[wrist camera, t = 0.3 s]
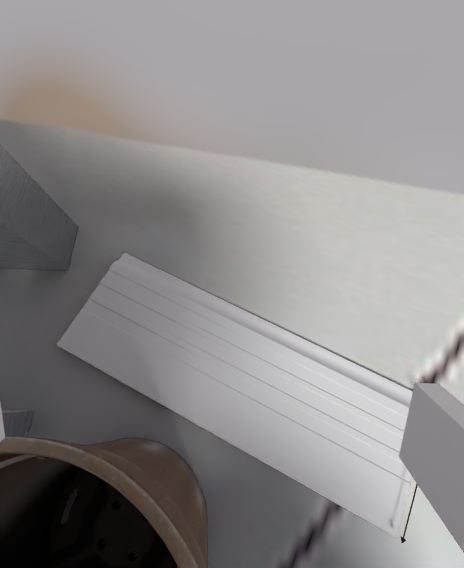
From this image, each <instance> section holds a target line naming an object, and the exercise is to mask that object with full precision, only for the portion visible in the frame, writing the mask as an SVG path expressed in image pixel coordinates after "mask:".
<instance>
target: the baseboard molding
mask: <svg viewBox="0 0 464 568" xmlns="http://www.w3.org/2000/svg"><path fill="white" fill-rule="evenodd" d="M57 346H59V347H61V348H62V349H64V350H66V351H68V352H69V353H71V354H73V355H75V356H76V357H78V358H80V359H82V360H83V361H85V362H87V363H89V364H91V365H92V366H94V367H96V368H98V369H99V370H101V371H103V372H105V373H106V374H108V375H110V376H112V377H114V378H115V379H117V380H119V381H121V382H122V383H124V384H126V385H128V386H129V387H131V388H133V389H135V390H136V391H138V392H140V393H142V394H144V395H145V396H147V397H149V398H151V399H152V400H154V401H156V402H158V403H159V404H161V405H163V406H165V407H166V408H168V409H170V410H172V411H174V412H175V413H177V414H179V415H181V416H182V417H184V418H186V419H188V420H189V421H191V422H193V423H195V424H197V425H198V426H200V427H202V428H204V429H205V430H207V431H209V432H211V433H212V434H214V435H216V436H218V437H219V438H221V439H223V440H225V441H227V442H228V443H230V444H232V445H234V446H235V447H237V448H239V449H241V450H242V451H244V452H246V453H248V454H250V455H251V456H253V457H255V458H257V459H258V460H260V461H262V462H264V463H265V464H267V465H269V466H271V467H272V468H274V469H276V470H278V471H280V472H281V473H283V474H285V475H287V476H288V477H290V478H292V479H294V480H295V481H297V482H299V483H301V484H303V485H304V486H306V487H308V488H310V489H311V490H313V491H315V492H317V493H318V494H320V495H322V496H324V497H325V498H327V499H329V500H331V501H333V502H334V503H336V504H338V505H340V506H341V507H343V508H345V509H347V510H348V511H350V512H352V513H354V514H355V515H357V516H359V517H361V518H363V519H364V520H366V521H368V522H370V523H371V524H373V525H375V526H377V527H378V528H380V529H382V530H384V531H386V532H387V533H389V534H391V535H393V536H394V537H396V538H397V534H398V531H399V527H400V523H401V519H402V515H403V512H404V508H405V504H406V500H407V496H408V493H409V489H410V485H411V483H410V482H411V478H412V475H411V474H410V472H409V471H408V470H407V468H406V467H405V465H404V464H403V462H402V461H401V459H400V458H399V454H400V449H401V444H402V440H403V435H404V430H405V426H406V421H407V416H408V412H409V407H410V402H411V398H412V393H413V391H411V390H409V389H407V388H404V387H402V386H400V385H398V384H396V383H394V382H392V381H390V380H388V379H386V378H384V377H382V376H380V375H378V374H375V373H373V372H371V371H369V370H367V369H365V368H363V367H361V366H359V365H357V364H355V363H353V362H351V361H348V360H346V359H344V358H342V357H340V356H338V355H336V354H334V353H332V352H330V351H328V350H326V349H324V348H322V347H319V346H317V345H315V344H313V343H311V342H309V341H307V340H305V339H303V338H301V337H299V336H297V335H295V334H292V333H290V332H288V331H286V330H284V329H282V328H280V327H278V326H276V325H274V324H272V323H270V322H268V321H266V320H263V319H261V318H259V317H257V316H255V315H253V314H251V313H249V312H247V311H245V310H243V309H241V308H239V307H236V306H234V305H232V304H230V303H228V302H226V301H224V300H222V299H220V298H218V297H216V296H214V295H212V294H210V293H207V292H205V291H203V290H201V289H199V288H197V287H195V286H193V285H191V284H189V283H187V282H185V281H183V280H180V279H178V278H176V277H174V276H172V275H170V274H168V273H166V272H164V271H162V270H160V269H158V268H156V267H154V266H151V265H149V264H147V263H145V262H143V261H141V260H139V259H137V258H135V257H133V256H131V255H129V254H127V253H123V254H122V256H121V257H120V259H119V260H117V261H115V262H113V263H112V265H111V266H110V268H109V270H108V272H107V273H106V274H105V276H104V277H103V279H101V281H100V282H99V285H98V286H97V288H96V289H95V290H94V292H93V293H92V294H91V295H90V297H89V299H88V301H87V302H86V303H85V305H84V306H83V308H82V309H81V310H80V311H79V313H78V314H77V316H76V317H75V319H74V320H73V321H72V323H71V324H70V326H69V327H68V329H67V330H66V332H65V333H64V334H63V336H62V337H61V339H60V340H59V342H58V343H57ZM417 485H418V484H417ZM417 485H416V489H417ZM416 489H415V492H414V496H413V500H412V504H411V508H412V505H413V501H414V497H415V493H416ZM411 508H410V512H411ZM410 512H409V516H410ZM409 516H408V520H409ZM408 520H407V524H408ZM407 524H406V527H405V531H404V535H403V537H401V541H402V543H403V542H405V541H406V540H405V539H404V536H405V532H406V528H407Z"/></svg>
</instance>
